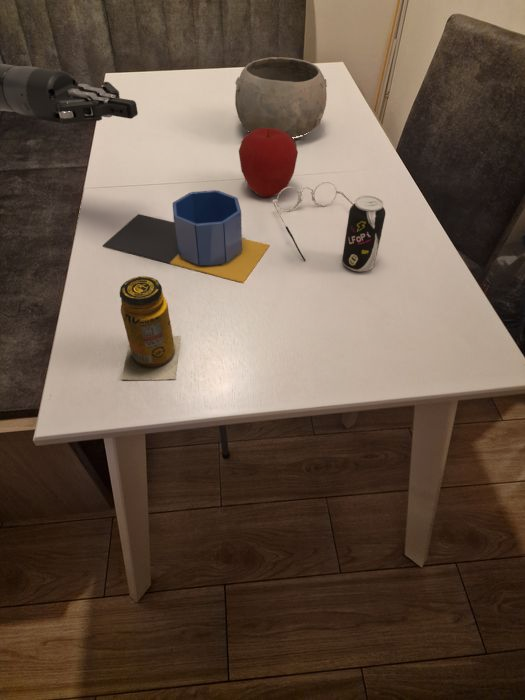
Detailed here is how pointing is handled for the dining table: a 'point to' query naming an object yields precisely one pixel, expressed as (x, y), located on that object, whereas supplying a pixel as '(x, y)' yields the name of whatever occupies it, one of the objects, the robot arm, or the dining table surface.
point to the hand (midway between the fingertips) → (134, 109)
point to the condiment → (148, 331)
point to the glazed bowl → (208, 227)
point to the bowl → (281, 95)
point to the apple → (267, 160)
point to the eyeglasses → (300, 202)
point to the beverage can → (363, 233)
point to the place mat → (161, 245)
